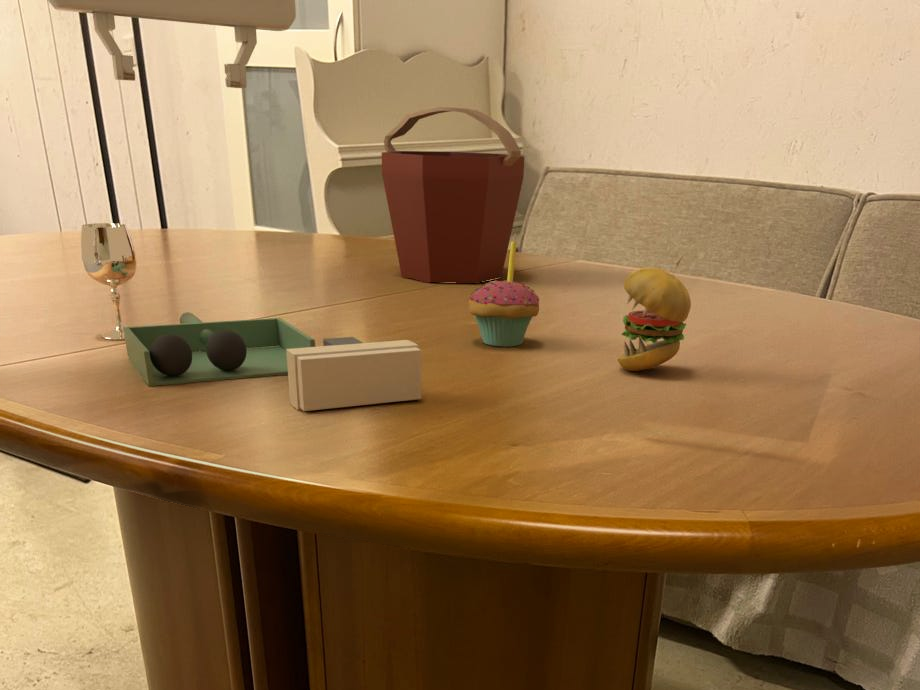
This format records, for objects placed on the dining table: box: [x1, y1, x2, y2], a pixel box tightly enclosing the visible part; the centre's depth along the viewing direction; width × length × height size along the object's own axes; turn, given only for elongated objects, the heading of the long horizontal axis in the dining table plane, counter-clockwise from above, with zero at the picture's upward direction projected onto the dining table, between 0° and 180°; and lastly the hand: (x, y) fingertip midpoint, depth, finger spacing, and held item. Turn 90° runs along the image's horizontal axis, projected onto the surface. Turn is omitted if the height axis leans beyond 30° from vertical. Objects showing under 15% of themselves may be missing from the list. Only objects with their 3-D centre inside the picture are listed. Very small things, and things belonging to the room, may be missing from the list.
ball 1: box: [150, 334, 192, 376], centre depth 92 cm, size 4×4×4 cm
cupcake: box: [468, 233, 540, 348], centre depth 109 cm, size 9×8×12 cm
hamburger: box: [617, 254, 692, 372], centre depth 98 cm, size 8×7×12 cm
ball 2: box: [206, 330, 247, 371], centre depth 94 cm, size 4×4×4 cm
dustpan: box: [123, 311, 316, 387], centre depth 101 cm, size 22×17×3 cm
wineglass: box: [80, 222, 137, 341], centre depth 106 cm, size 6×6×12 cm
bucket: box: [381, 106, 525, 283], centre depth 152 cm, size 24×22×25 cm
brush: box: [286, 336, 422, 412], centre depth 87 cm, size 5×12×7 cm
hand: (182, 84), depth 80 cm, fingers open, 8 cm apart
